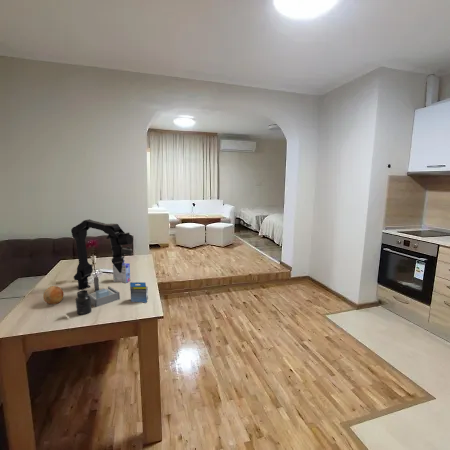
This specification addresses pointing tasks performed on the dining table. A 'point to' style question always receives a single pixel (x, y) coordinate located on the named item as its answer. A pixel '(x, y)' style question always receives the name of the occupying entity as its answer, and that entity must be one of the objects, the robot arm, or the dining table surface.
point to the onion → (53, 295)
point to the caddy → (96, 287)
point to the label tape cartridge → (139, 292)
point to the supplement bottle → (83, 303)
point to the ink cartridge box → (122, 273)
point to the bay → (105, 298)
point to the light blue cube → (101, 293)
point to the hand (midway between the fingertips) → (121, 270)
